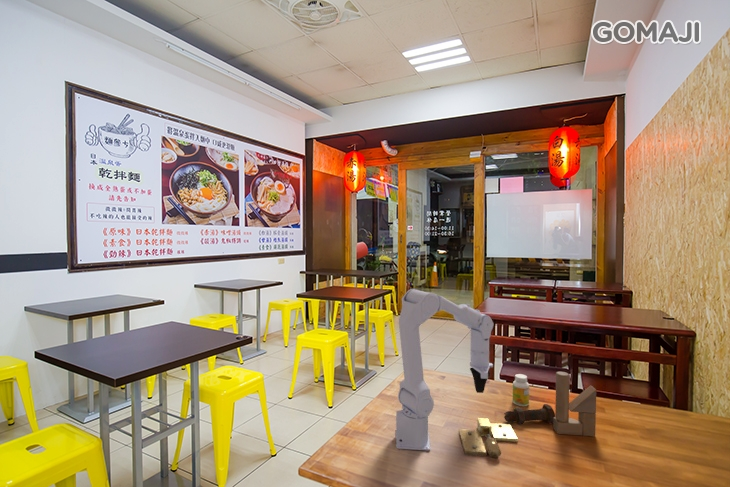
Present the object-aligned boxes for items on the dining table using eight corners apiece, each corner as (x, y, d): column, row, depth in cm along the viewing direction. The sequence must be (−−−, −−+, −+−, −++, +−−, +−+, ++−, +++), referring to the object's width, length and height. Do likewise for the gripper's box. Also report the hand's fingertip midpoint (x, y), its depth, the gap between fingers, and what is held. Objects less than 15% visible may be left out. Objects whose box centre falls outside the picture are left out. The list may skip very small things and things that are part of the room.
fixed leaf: (465, 456, 99) (465, 444, 99) (458, 432, 111) (458, 422, 111) (500, 458, 98) (500, 446, 98) (490, 434, 110) (490, 423, 110)
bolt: (504, 427, 117) (549, 424, 118) (511, 427, 113) (557, 423, 114) (500, 407, 120) (544, 404, 121) (506, 406, 115) (552, 403, 116)
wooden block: (595, 437, 108) (596, 377, 107) (557, 434, 110) (558, 375, 109) (590, 430, 112) (591, 372, 111) (552, 427, 113) (553, 370, 113)
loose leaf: (481, 439, 107) (482, 429, 107) (476, 425, 115) (476, 415, 115) (517, 441, 106) (517, 431, 106) (509, 426, 114) (509, 417, 113)
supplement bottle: (509, 401, 131) (509, 374, 131) (520, 398, 133) (520, 372, 133) (521, 407, 126) (521, 380, 126) (532, 404, 128) (532, 377, 128)
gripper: (498, 358, 110) (498, 402, 110) (487, 343, 124) (487, 382, 125) (474, 357, 111) (474, 401, 111) (466, 343, 125) (466, 382, 125)
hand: (479, 391), depth 118 cm, fingers closed
